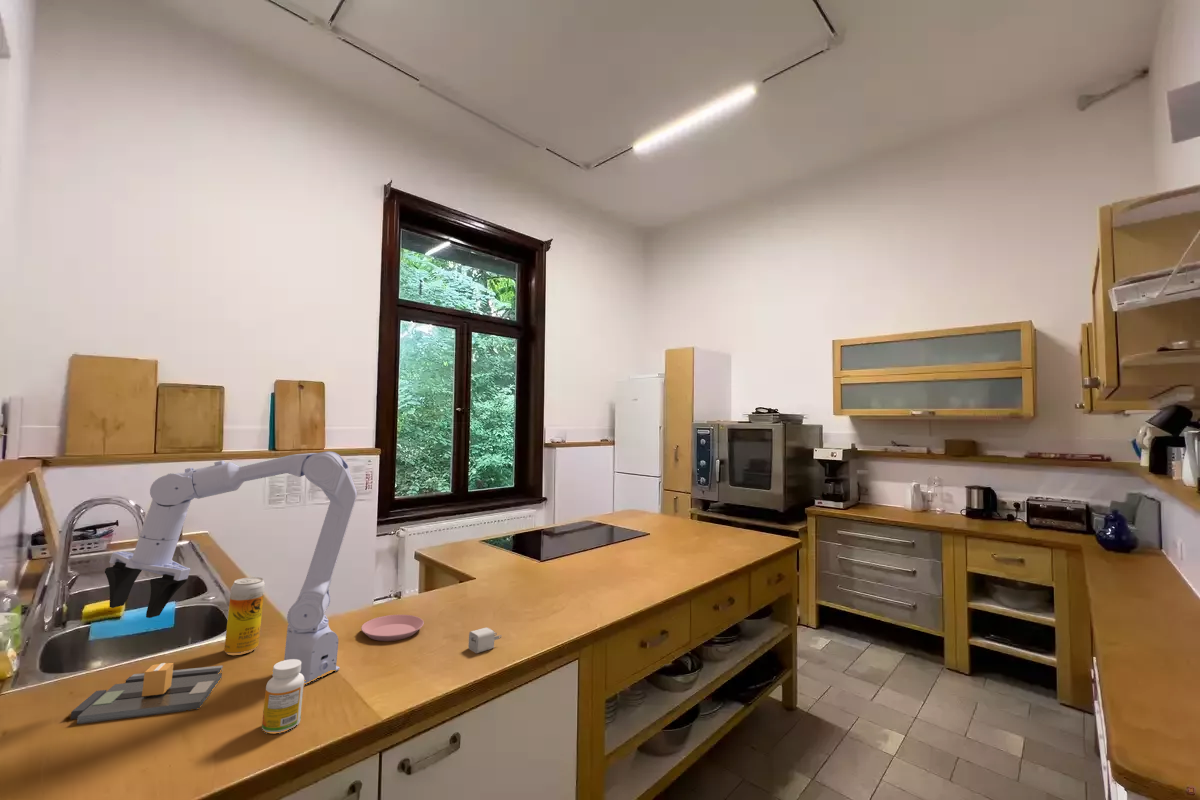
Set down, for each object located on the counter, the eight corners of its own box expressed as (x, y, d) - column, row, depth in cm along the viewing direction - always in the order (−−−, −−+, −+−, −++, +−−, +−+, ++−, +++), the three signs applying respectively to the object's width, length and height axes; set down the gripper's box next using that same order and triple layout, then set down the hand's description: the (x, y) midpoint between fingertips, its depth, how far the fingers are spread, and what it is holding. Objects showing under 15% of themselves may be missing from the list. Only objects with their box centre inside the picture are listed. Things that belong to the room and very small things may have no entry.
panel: (221, 679, 95) (222, 672, 95) (199, 709, 85) (200, 701, 85) (113, 691, 89) (114, 683, 89) (76, 724, 79) (77, 715, 79)
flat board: (222, 670, 98) (223, 664, 98) (196, 704, 86) (197, 696, 86) (114, 681, 92) (115, 674, 92) (70, 719, 80) (71, 711, 80)
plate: (435, 629, 125) (436, 621, 125) (390, 649, 112) (391, 640, 112) (394, 618, 131) (394, 610, 131) (347, 636, 118) (347, 627, 118)
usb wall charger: (468, 648, 114) (469, 630, 115) (493, 641, 119) (494, 624, 120) (477, 654, 112) (478, 635, 112) (503, 646, 116) (504, 628, 117)
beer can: (240, 658, 104) (248, 585, 105) (216, 655, 105) (224, 582, 106) (265, 647, 110) (272, 578, 111) (242, 644, 111) (249, 575, 112)
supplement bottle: (273, 716, 84) (279, 656, 84) (306, 716, 84) (312, 657, 85) (254, 735, 78) (260, 671, 79) (289, 735, 79) (295, 671, 79)
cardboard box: (171, 685, 89) (173, 662, 89) (163, 693, 86) (166, 669, 86) (150, 688, 88) (153, 664, 88) (141, 696, 85) (144, 671, 85)
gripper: (103, 530, 89) (76, 607, 87) (174, 548, 88) (147, 626, 86) (142, 526, 96) (117, 598, 94) (208, 543, 95) (184, 616, 93)
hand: (134, 611), depth 91 cm, fingers open, 7 cm apart
